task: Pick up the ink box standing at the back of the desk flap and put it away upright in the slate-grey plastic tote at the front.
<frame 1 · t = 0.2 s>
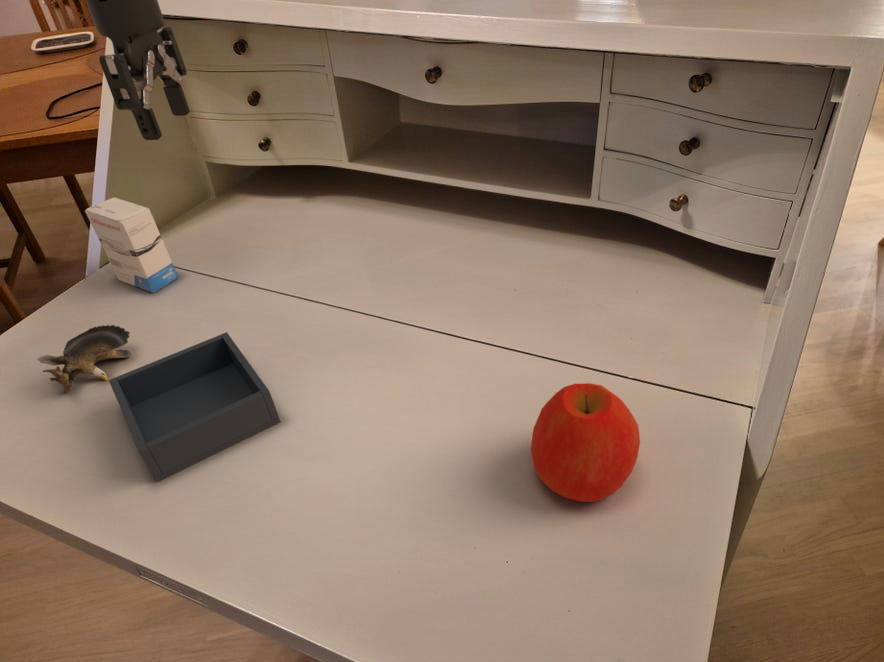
hand: (168, 126, 83), 22 cm above the table, tool pointing down, fingers open, 8 cm apart
ink box: (149, 280, 96), on the table
tote: (202, 416, 73), on the table
apple: (581, 473, 64), on the table
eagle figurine: (99, 375, 80), on the table
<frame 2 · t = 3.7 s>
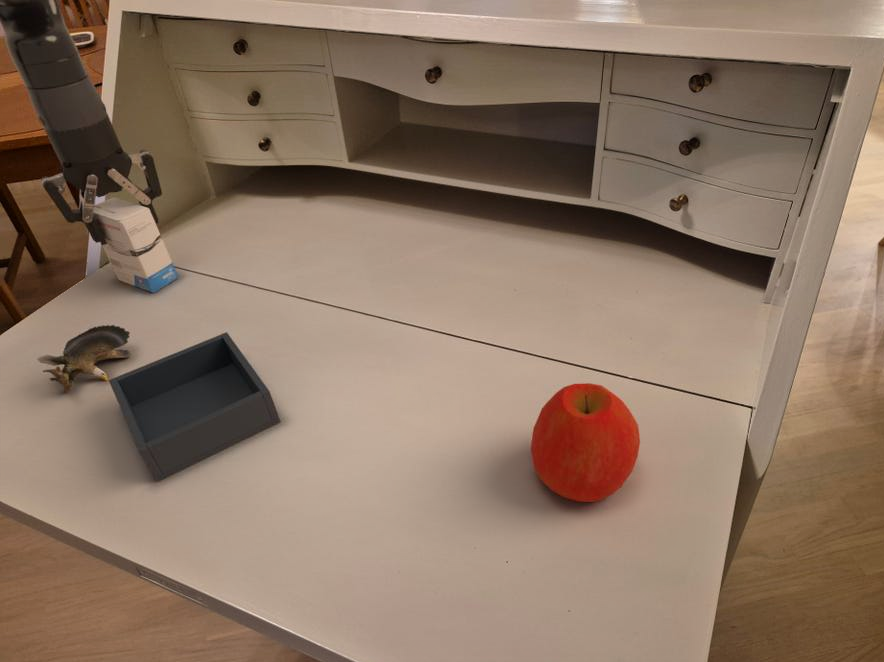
hand: (128, 234, 91), 8 cm above the table, tool pointing down, fingers closed on ink box, 6 cm apart
ink box: (149, 280, 96), on the table, touching gripper
everything else where it was.
when the fingers open (8 cm above the table, at t = 12.1 s): ink box stays where it is, resting on tote.
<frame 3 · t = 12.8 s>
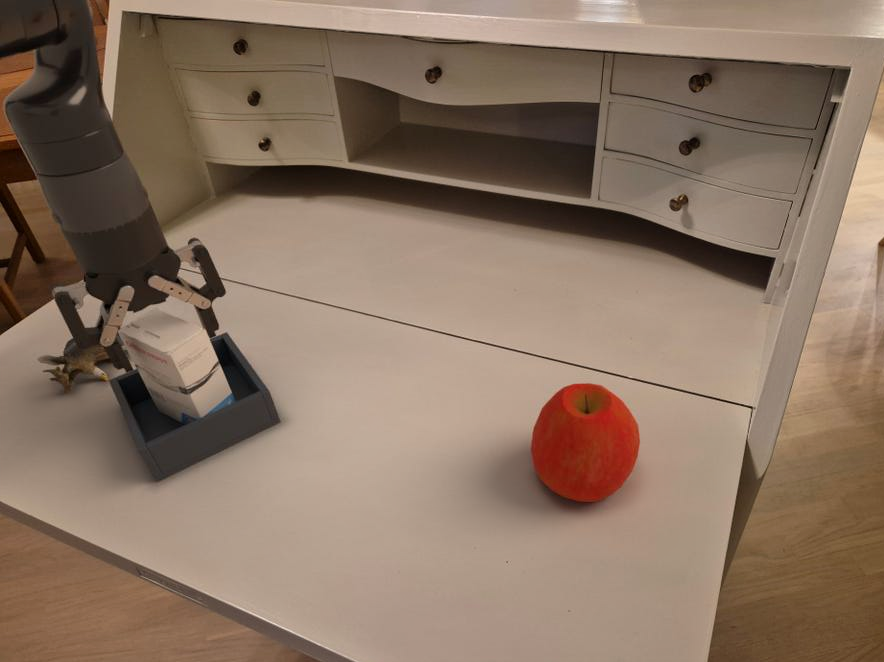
hand: (170, 350, 66), 10 cm above the table, tool pointing down, fingers open, 8 cm apart
ink box: (199, 412, 72), point 1 cm above the table, touching tote
everything else where it was.
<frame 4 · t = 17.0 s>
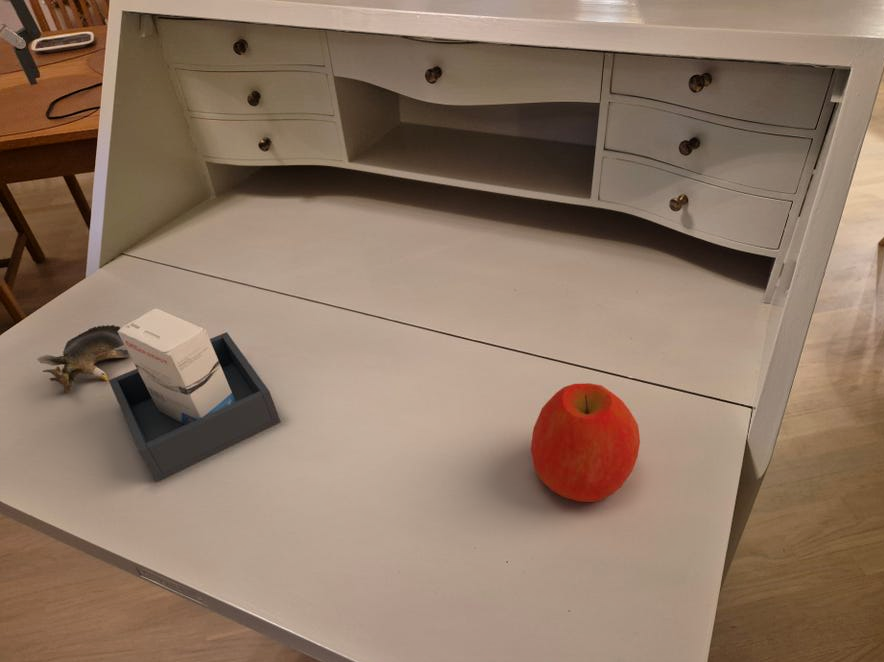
nothing on the table moved.
at the end: ink box inside the target area in the tote (0.1 cm from its centre), point 0.6 cm above the tote's base; ink box tilted 0°; the gripper is holding nothing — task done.
